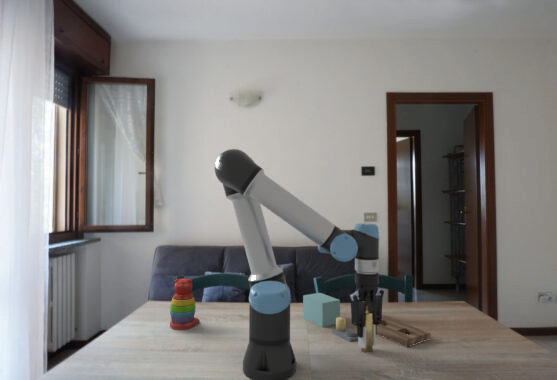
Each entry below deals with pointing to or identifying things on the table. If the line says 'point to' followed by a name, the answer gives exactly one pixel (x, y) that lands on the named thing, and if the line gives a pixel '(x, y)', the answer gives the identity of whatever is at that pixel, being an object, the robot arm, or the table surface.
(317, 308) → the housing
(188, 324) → the stacking bear
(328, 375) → the table surface
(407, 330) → the board
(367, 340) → the peg
